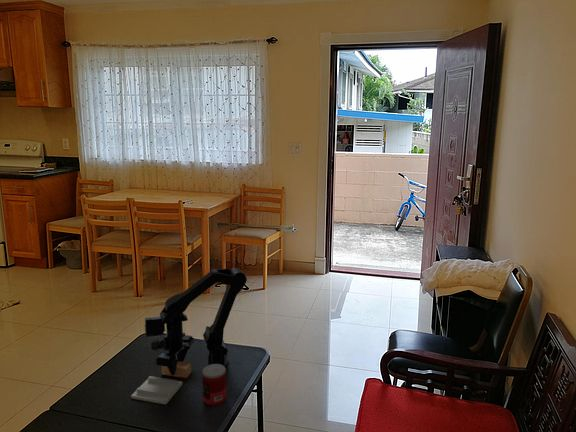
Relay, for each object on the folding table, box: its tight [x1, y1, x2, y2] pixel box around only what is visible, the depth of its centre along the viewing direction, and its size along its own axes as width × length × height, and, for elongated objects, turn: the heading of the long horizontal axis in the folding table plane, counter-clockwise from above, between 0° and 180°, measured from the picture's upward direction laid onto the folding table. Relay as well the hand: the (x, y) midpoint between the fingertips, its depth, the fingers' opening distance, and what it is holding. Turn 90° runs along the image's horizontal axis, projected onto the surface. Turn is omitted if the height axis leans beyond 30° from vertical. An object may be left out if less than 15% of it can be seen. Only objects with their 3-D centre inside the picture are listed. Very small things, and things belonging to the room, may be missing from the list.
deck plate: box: [130, 375, 184, 405], centre depth 158 cm, size 13×12×2 cm
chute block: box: [161, 361, 192, 379], centre depth 169 cm, size 10×4×4 cm, turn 77°
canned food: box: [201, 364, 227, 407], centre depth 153 cm, size 8×8×11 cm
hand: (176, 370), depth 169 cm, fingers open, 6 cm apart
